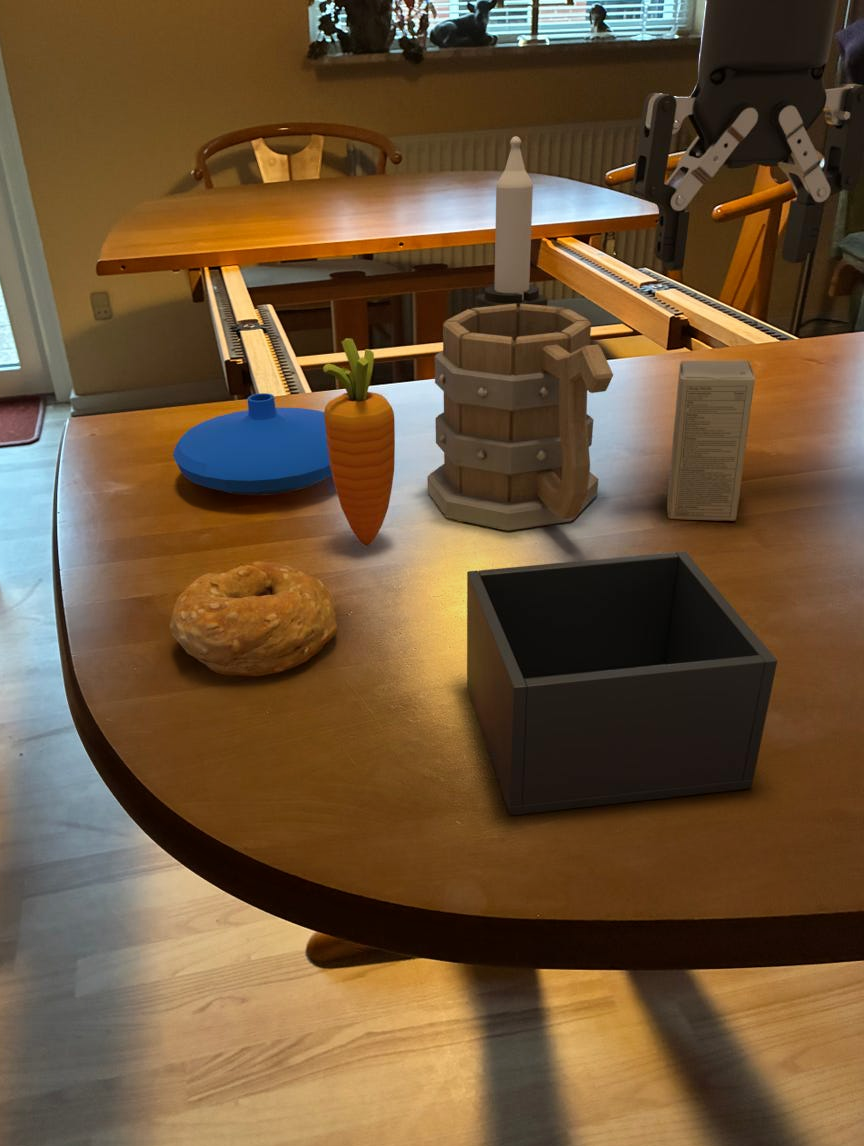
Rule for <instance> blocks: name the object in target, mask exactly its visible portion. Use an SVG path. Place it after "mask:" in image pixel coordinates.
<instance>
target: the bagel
mask: <svg viewBox="0 0 864 1146" xmlns="http://www.w3.org/2000/svg"><path fill="white" fill-rule="evenodd" d="M335 605H336V604H335V599H334V597H333V595H332V593H331V591H330V590H329V589H328V587H326V585H324V584H323V582H322V581H321V580H319V579H317V578H316V577H313V576H312V575H309V574H307V573H305V572H303V571H300V570H298V569H296V568H293V567H291V566H290V565H284V564H281V563H279V562H273V561H272V562H271V561H270V562H269V561H258V560H257V561H251V562H250V563H249V564H246V565H239V566H238V567H235V568H232V569H230V570H228V571H227V572H222V573H215V572H214V573H213V572H207V573H205V574H203V575H201V576H199V577H198V578H196V579H194V581H193V582H191V584H189V585H188V586H187V587H186V588H185V590H184V591H182V593H180V595H178V597H177V600H176V602H175V605H174V608H173V611H172V614H171V619H170V625H169V628H170V630H171V634H172V637H173V639H174V640H175V641H177V642H178V643H179V645H180V646H181V647H182V649H183V650H185V652H186V653H187V654H188V655H190V656H191V657H194V658H195V659H196V660H198V662H200V663H202V664H204V665H205V666H206V667H208V668H209V669H210V670H212V671H213V672H216V673H218V674H221V675H225V676H249V677H260V676H266V675H272V674H277V673H278V674H279V673H280V672H284V671H286V670H290V669H293V668H295V667H298V666H300V665H302V664H303V663H305V662H307V661H309V660H310V659H311V658H312V657H313V656H315V655H316V654H318V653H319V652H320V651H321V650H322V649H323V647H324V645H325V644H326V643H328V642H329V641H330V640H331V639H332V638H333V637H335V635H336V633H337V630H338V623H337V619H336V606H335Z"/></svg>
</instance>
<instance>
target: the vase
mask: <svg viewBox="0 0 864 1146" xmlns="http://www.w3.org/2000/svg"><path fill="white" fill-rule="evenodd" d="M172 456H173V459H174V461H175V463H176V465H177V467H178V469H179V471H180V472H181V474H182V476H183V477H185V478H186V479H188V480H189V481H190V482H192V483H194V484H197V485H199V486H202V487H205V488H208V489H213V490H216V491H219V492H225V493H227V494H228V493H229V494H234V495H242V496H268V495H269V496H270V495H279V494H284V493H290V492H295V491H298V490H302V489H305V488H309V487H310V486H313V485H314V484H317V483H319V482H321V481H323V480H325V479H328V478H330V477H331V476H332V472H331V468H330V461H329V454H328V446H327V438H326V429H325V419H324V411H321V410H317V409H311V408H303V407H281V406H280V407H276V402H275V396H274V394H271V393H267V392H266V393H265V392H262V393H253V394H252V395H250V396H248V397H247V409H246V410H241V411H234V412H230V413H226V414H222V415H219V416H215V417H212V418H210V419H207V420H204V421H202V422H200V423H198V424H196V425H194V426H193V427H191V428H189V429H188V430H187V431H186V432H185V433H184V434H183V435H182V436H181V437H180V438H179V440H178V441H177V443H176V445H175V446H174V450H173V452H172ZM332 477H333V476H332Z"/></svg>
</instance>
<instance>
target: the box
mask: <svg viewBox="0 0 864 1146" xmlns="http://www.w3.org/2000/svg"><path fill="white" fill-rule="evenodd" d="M751 365H752V364H751V362H750V361H749V360H681V361H680V362H679V369H678V381H677V390H676V401H675V412H674V422H673V434H672V446H671V455H670V456H671V457H670V465H669V478H668V487H667V501H666V509H667V510H666V511H667V518H668V519H670V520H688V521H729V522H730V521H731V522H732V521H733V522H736V520H737V517H738V516H737V515H738V509H739V501H740V494H741V485H742V480H743V479H742V478H743V470H744V463H745V454H746V448H747V441H748V434H749V425H750V418H751V410H752V404H753V403H752V402H753V396H754V389H755V381H756V377H755V374H754V373H755V372H754V371H753V367H752V366H751Z"/></svg>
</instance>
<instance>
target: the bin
mask: <svg viewBox="0 0 864 1146" xmlns="http://www.w3.org/2000/svg"><path fill="white" fill-rule="evenodd" d="M466 573H467V574H466V587H467V588H466V687H467V690H468V693H469V696H470V699H471V702H472V703H471V704H472V705H473V709H474V711H475V714H476V718H477V721H478V724H479V725H480V729H481V734H482V736H483V739H484V741H485V744H486V747H487V751H488V753H489V756H490V759H491V762H492V763H491V764H492V766H493V768H494V772H495V775H496V777H497V781H498V784H499V787H500V790H501V793H502V797H503V799H504V802H505V805H506V808H507V810H508V814H509V816H518V815H519V816H520V815H526V814H527V815H528V814H536V813H546V812H553V811H561V810H563V811H564V810H571V809H580V808H589V807H597V806H606V805H607V806H608V805H617V804H625V803H632V802H633V803H635V802H643V801H650V800H659V799H669V798H676V797H677V798H678V797H686V796H695V795H702V794H703V795H705V794H713V793H721V792H730V791H740V790H748V789H750V790H751V789H752V788H753V784H754V779H755V774H756V769H757V763H758V759H759V755H760V749H761V744H762V739H763V734H764V729H765V724H766V719H767V714H768V710H769V709H768V708H769V704H770V700H771V695H772V689H773V684H774V679H775V675H776V670H777V665H778V660H777V658H776V657H775V656H774V654H773V653H772V652H771V651H770V650H769V648H767V646H766V645H765V644H764V643H763V642H762V641H761V639H760V638H759V637H758V636H757V634H756V633H755V632H754V631H753V630H752V628H751V627H750V626H749V624H747V622H746V621H745V620H744V619H743V617H741V615H740V614H739V613H738V612H737V610H736V609H735V607H733V606H732V605H731V604H730V602H729V601H728V600H727V599H726V598H725V596H724V595H723V594H722V593H721V591H720V590H719V589H718V588H717V586H715V585H714V583H713V582H712V581H711V580H710V579H709V578H708V576H707V575H706V573H705V572H703V570H702V569H701V568H700V567H699V565H698V564H697V563H696V562H695V561H694V559H692V557H691V556H690V555H689V554H688V553H687V551H685V550H682V551H675V552H674V551H673V552H662V553H661V552H660V553H652V554H651V553H650V554H640V555H639V554H638V555H630V556H629V555H627V556H619V557H607V558H597V559H586V560H577V561H575V560H574V561H565V562H555V563H554V562H553V563H544V564H533V565H523V566H522V565H521V566H512V567H499V568H489V569H479V570H469V571H467V572H466Z"/></svg>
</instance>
